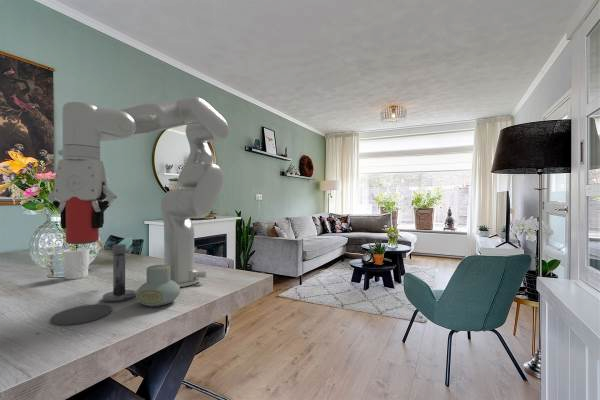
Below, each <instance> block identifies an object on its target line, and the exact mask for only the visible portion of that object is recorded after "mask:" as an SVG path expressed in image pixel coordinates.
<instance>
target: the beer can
mask: <svg viewBox="0 0 600 400" xmlns="http://www.w3.org/2000/svg"><path fill="white" fill-rule="evenodd" d="M93 212H95V210H94V208H93V206H92V203H91V201H84V200H80V199H79V198H78V197H72V198H70V199H69V200H67V201H66V229H65V242H66V243H67V244H69V245H86V244H93V243H97V242H98V241H99V236H100V234H99V233H100V232H99V231H100V230H99V229H100V228H95V229H94V228H92V213H93Z"/></svg>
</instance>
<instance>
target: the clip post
mask: <svg viewBox="0 0 600 400" xmlns="http://www.w3.org/2000/svg"><path fill="white" fill-rule="evenodd" d="M112 271H113V273H112V281H113V282H112V283H113V284H112V285H113V286H112V287H113V288H112V289H113V290H112V291H109V292H106V293H104V294H103V295H102V301H103V302H104V303H109V304H112V303H121V302H125V301H126V302H127V301H130V300H132V299H134V298H135V297H136V291H135V290H134V289H126V253H125V254H117V255H115V254H113V253H112Z"/></svg>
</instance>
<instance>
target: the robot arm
mask: <svg viewBox="0 0 600 400" xmlns="http://www.w3.org/2000/svg"><path fill="white" fill-rule="evenodd" d="M61 116H62V117H61V118H62V119H61V120H62V146H61V147H62V149H58V151H57V153H58V156H61V157H62V158H61V159H58V163H57V165H56V169H55V175H54V186H53V188H54V189H53V190H52V191H51V192H49V194H48V195H46V198H47V199H48V200H49V201H50V203H52V205H53V207H55V208H56V209H57V212H58V213H60V227H61V229H62V230H63V229H65V230H66V201H67V200H69V199H70V198H72V197H78V198H79V199H80V200H84V201H91V203H92V206H93V208H94V210H95V212H93V213H92V228H94V229H95V228H99V229H101V228H103V227H104V223H105V221H104V220H105V212H106V211H107V209H108V208H110V206H111V205H112V203H114V201H115V200H116V199H117V195H116V194H115V192H113V191H112V190H111V189H110V188H108V182H107V174H106V169H105V165H104V161H103V160H101V142H106V141H116V140H125V139H128V138H130V137H131V136H133V135H139V134H151V133H155V132H162V131H164V130H169V129H174V128H177V127H182V126H186V127H185V136H186V138H187V141H188V144H189V149H190V151H189V154H188V157H187V158H186V161H185V163H184V164H183V167H182V168H181V170H180V172H179V174H178V176H177V183H178V186H179V187H180V188H178V189H172V190H171V189H170V190H169V191H167V192H165V193H164V194H163V195H162V196H161V200H160V210H161V215H162V220H163V221H162V222H163V250H164V251H163V265H169V266H170V280H172V281H174V282H176V283H177V284H178V285H179V287H180V288H184V287H188V286H194V285H195V284H198V282H199V281H200V279H202V278H203V279H204V278H205V279H206V278H207V277H208V272H207V271H205V270H201V271H199V270H198V269H197V268H198V267H197V266H196V267H195V228H194V223H193V222H192V220H191V219H202V218H205V217H207V216H208V215H209V214H210V213H211V211H212V210H213V208H214V205H215V203H216V201H217V198H218V196H219V194H220V191H221V190H222V186H223V182H224V173H223V171H222V169H221V167H220V166H219V165H217V164H214V163H213V161H214V155H213V153H212V150H211V149H210V147H209V144H208V143H211V142H213V143H214V142H221V141H224V140H226V139H227V138H228V136H229V135H230V127H229V125H228V122H227V120H226V119H225V118H224V117H223V116H222V114H220V113H219V112H218V111H217V110H216V109H215V108H214V107H213V106H212V105H210V104H209V103H208V102H207V101H205V100H204V99H203V98H201V97H198V96H191V97H184V98H177V99H171V100H164V101H158V102H157V101H156V102H148V103H144V104H143V103H142V104H139V105H135V106H131V107H127V108H122V109H115V108H114V109H113V108H112V109H111V108H105V107H99V106H95V105H93V104H91V103H87V102H81V101H67V102H66V103H64V104H63V106H62V115H61Z"/></svg>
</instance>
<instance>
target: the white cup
mask: <svg viewBox="0 0 600 400" xmlns="http://www.w3.org/2000/svg"><path fill="white" fill-rule="evenodd" d="M70 249H71V248H69V249H64V250H62V260H63V261H62V263H63V271H64V279H65V280H79V279H84V278H87V277H88V276H89V263H90V248H88V247H79V248H78V247H77V251H71V250H70Z"/></svg>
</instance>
